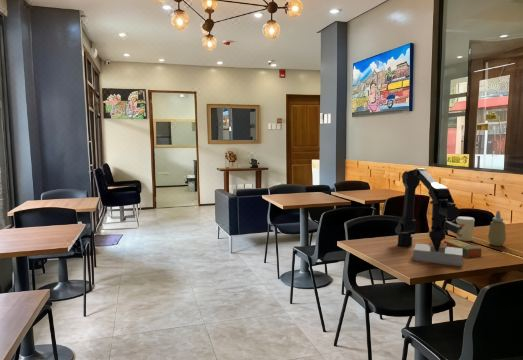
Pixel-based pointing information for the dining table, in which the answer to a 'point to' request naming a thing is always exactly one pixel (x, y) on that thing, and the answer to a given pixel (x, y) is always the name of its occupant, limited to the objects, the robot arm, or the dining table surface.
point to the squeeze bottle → (497, 231)
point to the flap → (442, 249)
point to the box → (437, 258)
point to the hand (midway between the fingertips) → (437, 249)
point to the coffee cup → (465, 228)
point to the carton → (464, 248)
